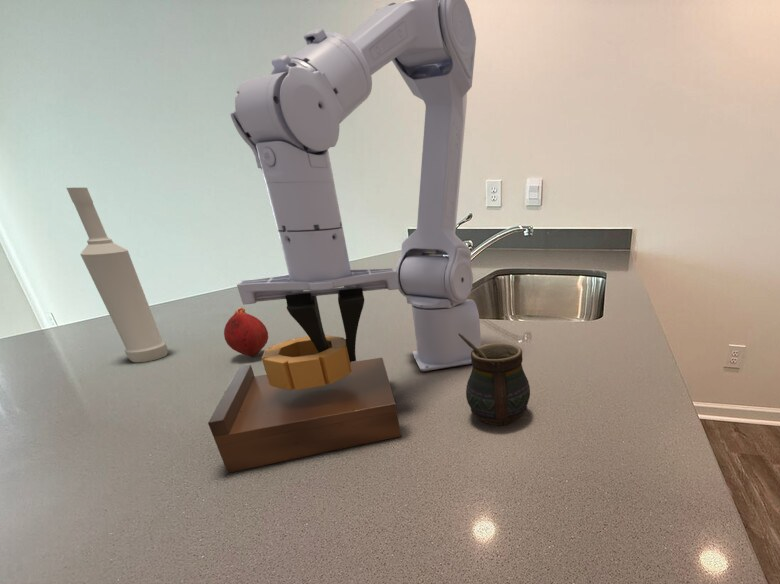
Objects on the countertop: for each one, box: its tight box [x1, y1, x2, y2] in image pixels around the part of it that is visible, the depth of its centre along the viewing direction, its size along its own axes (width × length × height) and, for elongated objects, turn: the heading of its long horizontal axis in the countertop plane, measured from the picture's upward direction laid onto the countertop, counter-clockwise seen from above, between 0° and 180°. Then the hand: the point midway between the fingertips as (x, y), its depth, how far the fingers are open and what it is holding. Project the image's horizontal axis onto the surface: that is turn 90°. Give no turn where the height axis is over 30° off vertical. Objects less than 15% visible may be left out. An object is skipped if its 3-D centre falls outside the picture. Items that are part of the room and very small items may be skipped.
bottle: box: [66, 187, 169, 363], centre depth 61 cm, size 5×5×25 cm
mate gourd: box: [458, 333, 531, 427], centre depth 45 cm, size 7×8×10 cm
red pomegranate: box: [223, 306, 269, 358], centre depth 64 cm, size 6×6×8 cm
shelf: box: [207, 357, 402, 474], centre depth 45 cm, size 16×14×6 cm
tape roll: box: [261, 334, 352, 390], centre depth 44 cm, size 8×8×3 cm
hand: (340, 360), depth 45 cm, fingers closed on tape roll, 2 cm apart
